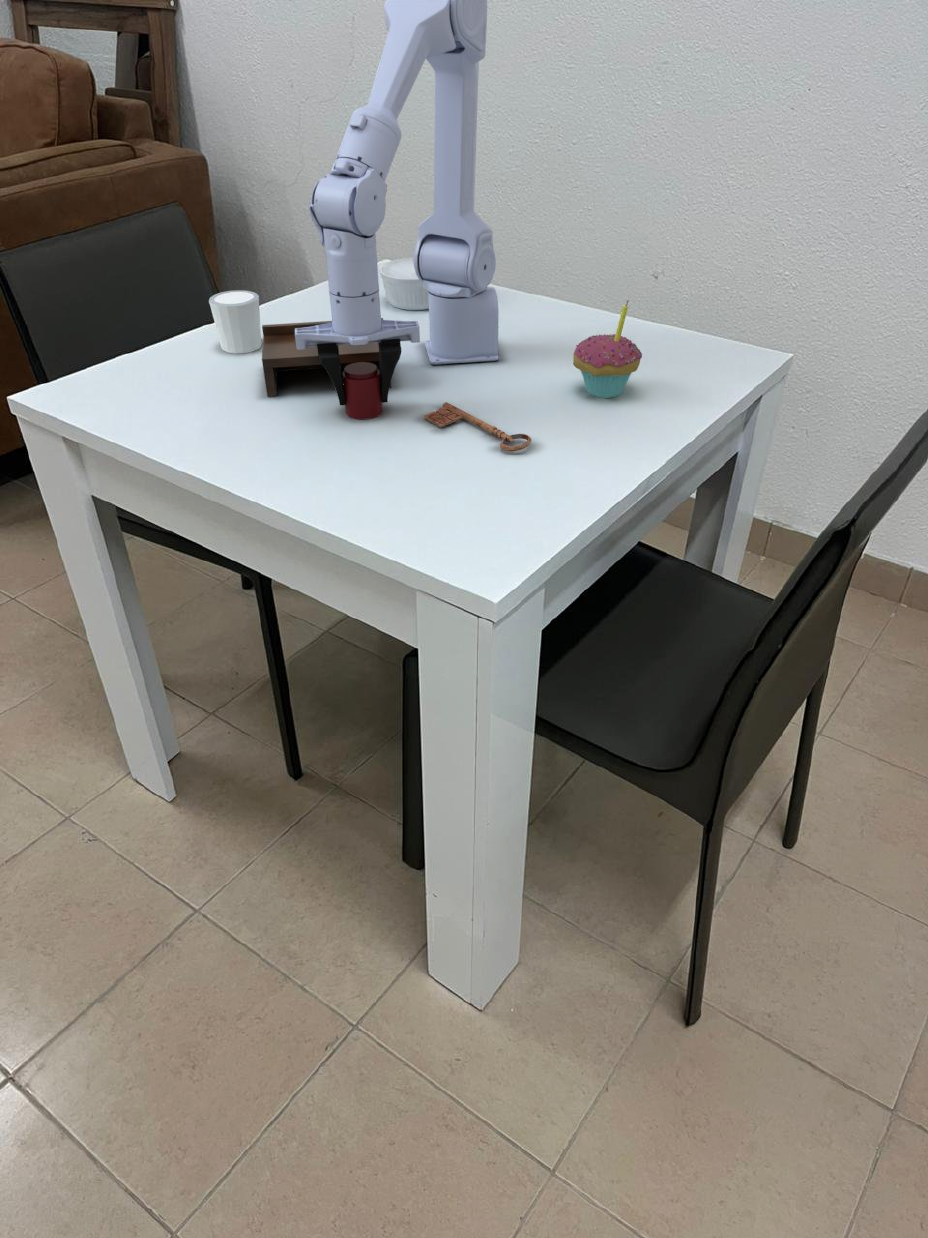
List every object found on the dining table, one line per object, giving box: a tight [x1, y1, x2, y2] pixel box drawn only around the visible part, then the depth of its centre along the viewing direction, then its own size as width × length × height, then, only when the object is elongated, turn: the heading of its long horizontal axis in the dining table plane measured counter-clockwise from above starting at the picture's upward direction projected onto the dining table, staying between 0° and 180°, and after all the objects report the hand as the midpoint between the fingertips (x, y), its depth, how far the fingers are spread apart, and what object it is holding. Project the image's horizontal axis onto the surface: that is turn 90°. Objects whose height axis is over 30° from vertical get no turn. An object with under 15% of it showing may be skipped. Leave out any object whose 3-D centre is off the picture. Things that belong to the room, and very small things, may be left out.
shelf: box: [261, 317, 392, 398], centre depth 121 cm, size 16×9×6 cm, turn 99°
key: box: [423, 401, 532, 452], centre depth 110 cm, size 6×1×15 cm
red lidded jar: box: [341, 362, 384, 420], centre depth 113 cm, size 5×5×6 cm
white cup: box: [208, 289, 262, 355], centre depth 130 cm, size 7×7×7 cm
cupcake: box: [572, 299, 643, 399], centre depth 115 cm, size 9×8×12 cm
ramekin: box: [379, 257, 429, 311], centre depth 146 cm, size 11×11×5 cm
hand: (363, 400), depth 114 cm, fingers closed on red lidded jar, 4 cm apart
